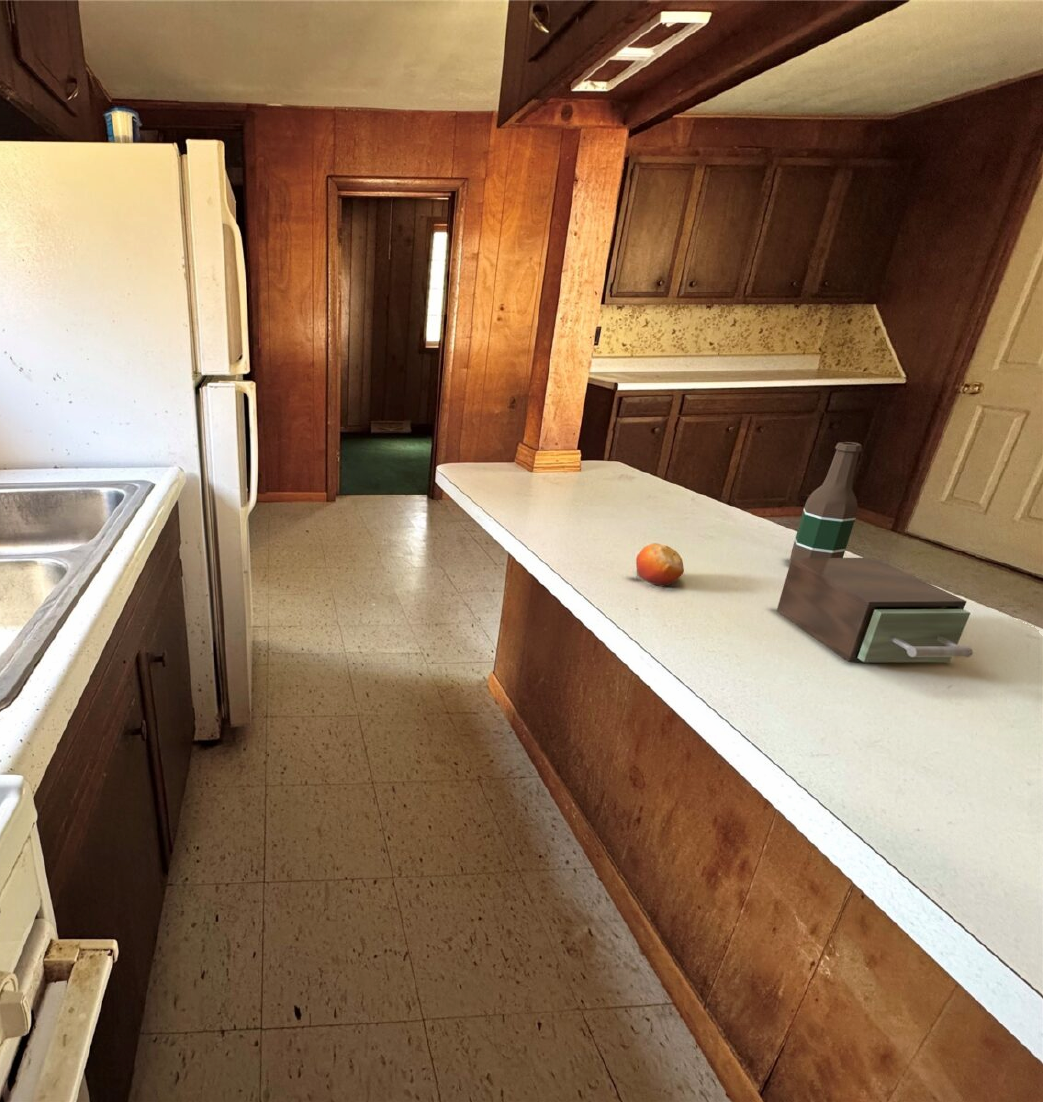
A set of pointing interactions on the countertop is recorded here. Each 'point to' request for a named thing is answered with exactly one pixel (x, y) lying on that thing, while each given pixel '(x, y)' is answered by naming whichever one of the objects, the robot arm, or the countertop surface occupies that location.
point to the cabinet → (850, 598)
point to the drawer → (914, 635)
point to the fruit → (659, 564)
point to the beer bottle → (830, 509)
